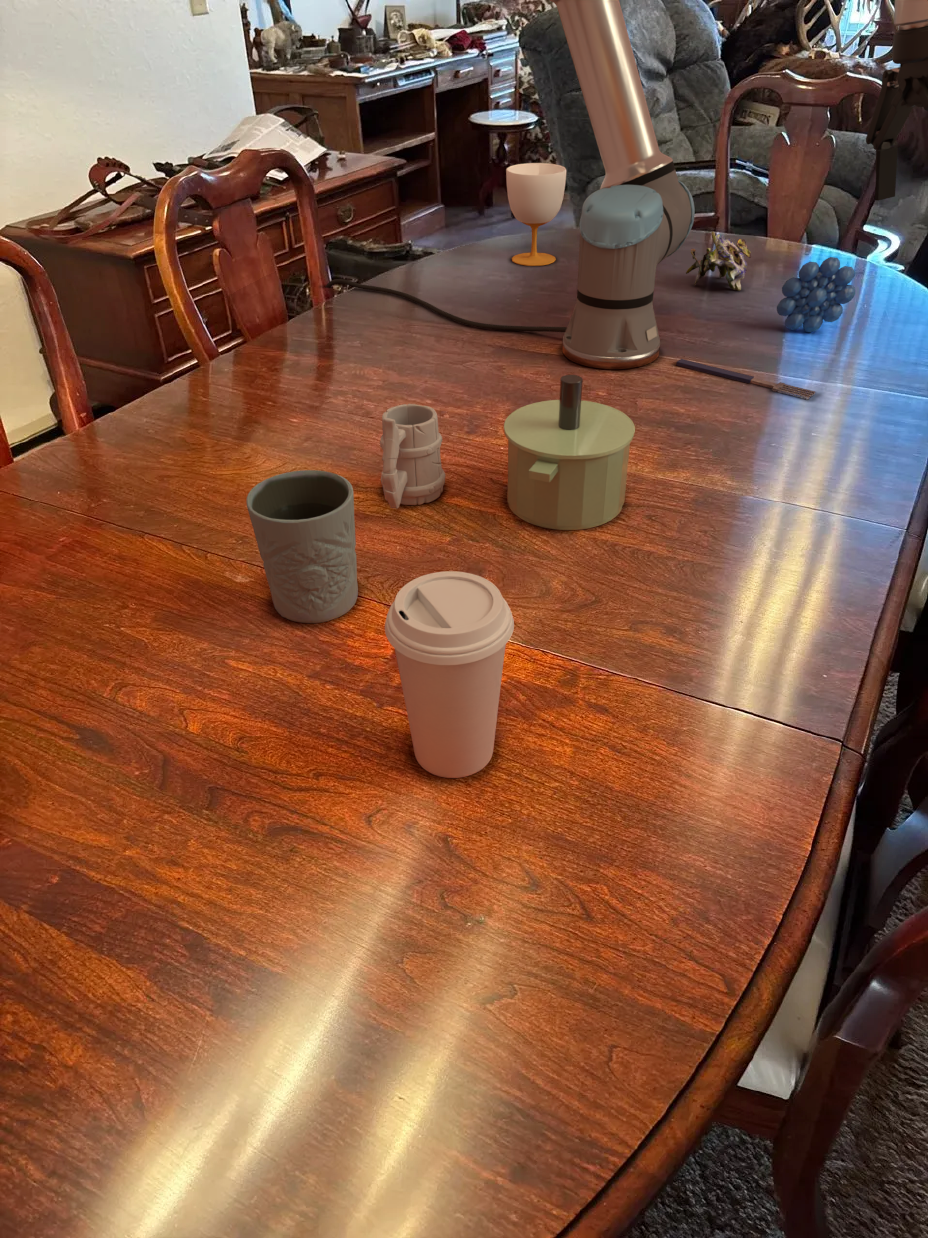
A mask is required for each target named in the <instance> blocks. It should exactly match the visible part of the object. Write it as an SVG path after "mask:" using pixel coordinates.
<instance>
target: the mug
mask: <svg viewBox="0 0 928 1238" xmlns="http://www.w3.org/2000/svg"><path fill="white" fill-rule="evenodd" d="M381 425H382V426H381V427H382V435H381V436H380V440H379V447H380V448H381V450H382V458H381V460H382V471H381V475H380V483H381V486H382V491H383V494H384V499H385V501H386V502H387V503H388V505H389V508H390V509H394V510H395V509H398V508H400V505H403V506H404V505H405V506H417V505H423V504H424V503H425V504H428V503H432V502H434V501H436V500H437V499H439V498H440V496H441V494H442V493H443V491H444V486H445V483H446V475H447V474H446V472H445V470H444V469H443V468H442V467H443V466H442V459H441V458H442V457H441V446H442V443H443V436H442V434H441V433H440V430H439V419H438V413H437V411H436V410H435V408H433V407H431V406H428V405H421V404H416V403H404V404H398V405H394V406H391V407H389V408H387V409H386V410H385V411H384V412H382V415H381Z"/></svg>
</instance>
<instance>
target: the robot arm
mask: <svg viewBox="0 0 928 1238" xmlns="http://www.w3.org/2000/svg"><path fill="white" fill-rule="evenodd" d="M548 1H549V2H551V3H553V4H554V5H555V6H556V8H557V12H558V15H559V19H560V22H561V25H562V29H563V33H564V36H565V39H566V42H567V46H568V48H569V53H570V57H571V60H572V63H573V66H574V69H575V72H576V77H577V80H578V83H579V86H580V90H581V93H582V97H583V101H584V103H585V104H584V105H585V107H586V111H587V114H588V117H589V120H590V124H591V128H592V130H593V134H594V137H595V140H596V144H597V148H598V151H599V154H600V157H601V161H602V165H603V168H604V171H605V175H604V178H603V180H602V183H601V185H600V188H599V189H597V190H596V191H594V192H591V194H589V195H588V196H587V197H586V199H585V200H584V202H583V204H582V208H581V215H580V220H579V223H578V226H579V227H578V228H579V243H578V247H579V248H578V264H577V265H578V266H577V284H576V286H577V287H576V301H575V305H574V308H573V310H572V314H571V316H570V318H569V322H568V324H567V326H544V325H543V326H541V325H540V326H535V325H534V326H530V325H529V326H526V325H507V324H506V325H505V324H492V323H484V322H479V321H473V320H468V319H465V318H462V317H460V316H457V315H454V314H452V313H450V312H446V311H445V310H442V309H440V308H438V307H437V306H435V305H433V304H431V303H430V302H427V301H425V300H422V299H420V298H418V297H416V296H413V295H412V294H409V293H405V292H403V291H400V290H396V289H392V288H387V287H381V286H375V285H369V284H363V283H362V284H361V283H358V282H355V281H351V280H348V279H344V278H334V279H332V280H330V281H329V282H328V283H327V284H325V287H324V288H326V289H330V288H331V287H332V286H334V285H337V284H343V285H347V286H350V287H353V288H356V289H360V290H366V291H372V292H378V293H384V294H390V295H394V296H397V297H401V298H404V299H406V300H409V301H412V302H414V303H416V304H418V305H420V306H422V307H424V308H426V309H428V310H431V311H432V312H434V313H435V314H437V315H439V316H442V317H443V318H446V319H448V320H451V321H453V322H456V323H459V324H462V325H465V326H469V327H472V328H473V327H474V328H479V329H484V330H492V331H494V330H495V331H506V332H507V331H508V332H509V331H511V332H528V333H529V332H533V333H534V332H535V333H538V332H541V333H542V332H543V333H547V332H548V333H563V334H564V335H563V337H562V353H563V355H564V357H565V358H567V359H568V360H570V361H571V362H574V363H575V364H578V365H581V366H584V367H585V366H586V367H589V368H595V369H603V370H626V369H627V370H628V369H634V368H639V367H642V366H646V365H648V364H651V363H652V362H654V361H656V360H657V359H658V357H659V355H660V350H661V338H660V334H659V329H658V324H657V319H656V315H655V310H654V305H653V304H654V303H653V302H654V295H655V283H656V275H657V265H659V264H661V262H663V261H664V260H665V259H666V258H669V257H671V256H672V255H673V254H675V252H677V251H678V250H679V249H680V248H681V247H682V245H683V244H684V243H685V241H686V239H687V238H688V236H689V234H690V233H691V231H692V229H693V228H692V227H693V226H694V221H695V214H696V213H695V212H696V211H695V202H694V198H693V195H692V193H691V191H690V189H689V188H688V187H687V185H685V184H684V182H682V181H681V180H679V177H678V176H677V171H676V170H677V169H676V167H675V163H674V160H673V158H672V157H671V156H668V155H667V154H664V153H663V152H661V150H660V148H659V144H658V143H659V142H658V139H657V136H656V133H655V129H654V125H653V122H652V118H651V114H650V111H649V107H648V103H647V99H646V95H645V92H644V89H643V85H642V80H641V77H640V73H639V70H638V66H637V63H636V58H635V55H634V51H633V47H632V43H631V39H630V36H629V33H628V29H627V25H626V21H625V17H624V14H623V10H622V7H621V3H620V2H621V1H620V0H548ZM893 25H894V26H895V27H898V30H896V31H895V32H894V33H893V36H892V37H893V38H892V58H891V60H892V62H893V64H896V65H899V66H898V67H894V68H890V69H886V70H884V71H883V72H882V78H881V88H880V91H879V95H878V98H877V101H876V105H875V108H874V111H873V115H872V117H871V121H870V123H869V127H868V130H867V134H866V137H865V143H866V144H867V145H871V146H873V147H872V148H873V150H874V151H875V167H874V171H875V185H874V186H875V187H874V188H875V190H874V201H876V202H878V201H882V200H886V199H891V198H894V197H896V189H897V188H896V187H897V186H896V185H897V184H896V183H897V167H898V166H897V165H898V151H899V149H898V146H897V145H898V141H897V138H898V136H899V135H900V133H901V131H902V129H903V127H904V125H905V124H906V121H907V120H908V118H909V116H910V114H911V112H912V111H913V109H914V108H915V107H916V108H923V109H924V110H925V111H926V112H928V0H894V12H893Z"/></svg>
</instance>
